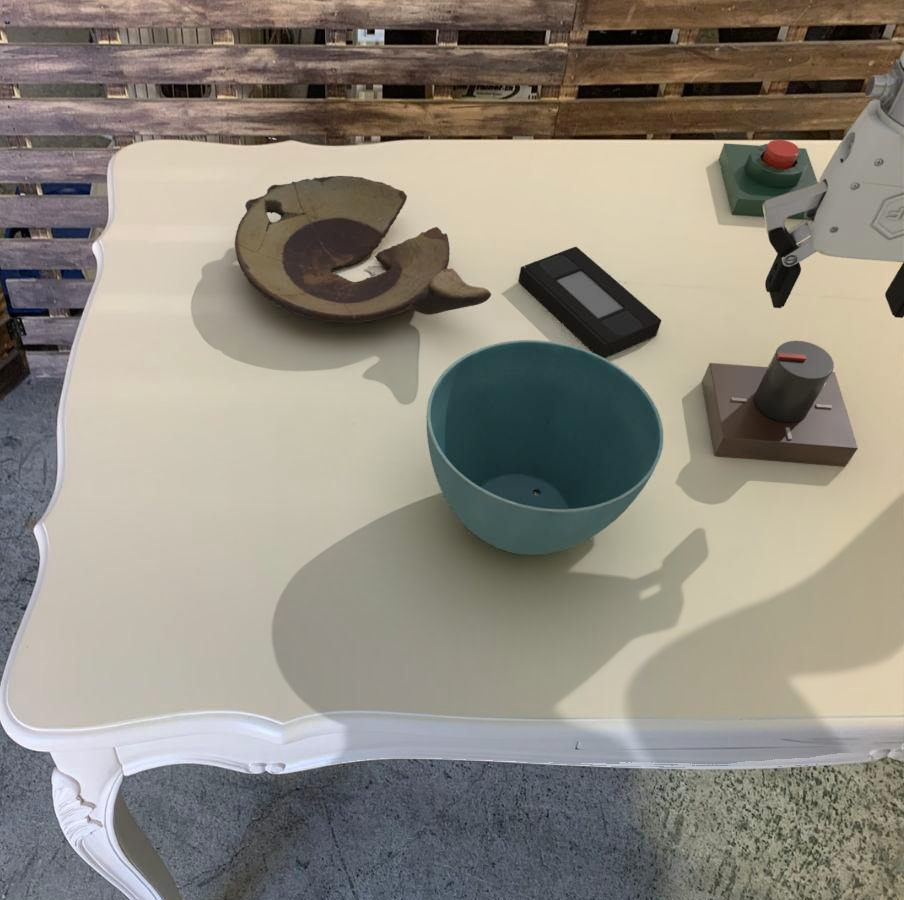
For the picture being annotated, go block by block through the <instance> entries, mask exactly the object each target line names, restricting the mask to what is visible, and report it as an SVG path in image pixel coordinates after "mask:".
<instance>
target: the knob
mask: <svg viewBox="0 0 904 900" xmlns="http://www.w3.org/2000/svg"><path fill="white" fill-rule="evenodd" d="M767 367H768V368H767V370H766V372H765V374H764V376H763V378H762V380H761V383H760V385H759V387H758V389H757V391H756V393H755V395H754V401H755V404H756V406H757V408H758V409H759V410H760V411H761V412H762V413H763V414H764V415H766V416H768V417H769V418H771V419H774V420H777V421H781V422H797V421H800V420H802V419H803V418H805V417H806V416H807V414H808V413H809V411H810V409H811V408H812V406H813V404H814V402H815V401H816V399H817V397H818V395H819V394H820V392H821V390H822V389H823V387H824V385H825V383H826V382H827V380H828V378H829V376H830V375H831V373H832V372H834V368H835V364H834V360H833V358H832V356H831V355H830V353H829V352H828V351H826V350H825V349H824V348H822V347H820V346H819V345H818V344H817V345H816V344H814V343H812V342H808V341H805V340H789V341H786V342H784V343H782V344H781V345H779V346H778V347H777V349H776V350H775V352H774V355H773V356H772V359H771V361H770V362H769V365H768V366H767Z"/></svg>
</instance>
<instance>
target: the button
mask: <svg viewBox="0 0 904 900" xmlns="http://www.w3.org/2000/svg"><path fill="white" fill-rule="evenodd" d="M767 144H768V145H767V148H766V150H765V153H764V155H763V158H762V161H763V162H765V163H766V164H767V165H769V166H772V167H775V168H777V169H789V168H792V166H793V165H794V162H795V160H796V158H797V155H798V153H799V148H800V147H798V145H796V144H795V143H793V142H791V141H790V140H784V139H774V140H770V141H769V142H768V143H767Z"/></svg>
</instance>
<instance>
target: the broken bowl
mask: <svg viewBox="0 0 904 900" xmlns="http://www.w3.org/2000/svg"><path fill="white" fill-rule="evenodd" d="M407 199H408V195H407V193H405V191H404V190H402V189H398V188H395V187H393V186H392V185H390V184H386V182H385V183H384V182H382V181H377V180H372V179H368V178H364V177H362V176H361V177H360V176H353V175H332V176H323V177H313V178H311V179H309V178H306V179H301V180H297V181H292V182H290V183H283V184H272V185H270V186H269V187H268V188H267V190H266V193H265V194H264V195H262V196H259V197H256V198H253V199H249V200H247V201H246V202H245V205H244V206H245V209H246V212H245V213H244V215H243V216H242V217H241V219H240V221H239V224H238V226H237V229H236V232H235V238H234V249H235V255H236V259H237V263H238V265H239V267H240V270H241V271H242V273H243V275H244V277H245V278H246V279H247V281H248V282H249V284H250V285H252V287H254V289H256V290H257V291H258V292H259V293H260V294H262V295H263V296H264V297H265V298H266V299H268V300H269V301H271V302H272V303H274V304H275V305H277V306H279V307H280V308H282V309H284V310H285V311H288V312H291V313H294V314H295V315H298V316H301V317H304V318H308V319H313V320H319V321H323V322H332V323H333V322H334V323H360V322H362V323H363V322H370V321H376V320H380V319H384V318H386V317H391V316H394V315H398V314H400V313H403V312H405V311H407V310H412V311H414V312H417V313H420V314H421V315H426V316H431V315H436V314H437V315H438V314H440V313H441V314H442V313H444V312H448V311H453V310H458V309H464V308H469V307H474V306H479V305H481V304H483V303H485V302H487V301H488V300H489V299H490V298H491V296H492V293H491V292H490V291H489V289H487V288H485V287H480V286H473V285H469V284H468V283H466V282H465V281H464V280H463V279H462V278H461V276H460V275H459V274H458V272H457V271H456V270H454V268H452V267H451V268H448V267H449V263H450V255H451V254H450V242H449V236H448V234H447V232H445V233H443V232H442V230H441V229H440V228H439V227H437V226H435V227H432V228H429V229H427V230H426V231H424V232H422V231H421V232H420V234H418V235H416V236H415V237H411V238H408V239H405V240H404V241H402V242H401V243H396V245H392V246H391V247H388V248H384V249H383V250H381V251H378V253H376V255H375V256H374V257H375V259H376V261H377V262H378V263H379V264H380V266H382V267H383V268H385V270H386V271H384V272H382V273H380V274H377V275H376V276H374V275H375V273H373V272H372V271H370V270H368V269H367V268H366V269H365V268H364V269H363V270H364V271H367V272H369V273H370V274H371V275H372V276H370V277H366V278H364V279H362V280H359V281H352V280H349V279H347V278H345V277H343V276H342V275H339V274H337V273H334V272H333V271H332V270H334V269H335V270H336V269H340V268H342V267H348V266H351V265H354V264H355V263H360V262H361V261H362V260H363V261H364V260H365V258H367V257H370V256H371V255H372V254H373V252H374V251H375V250H376V249H377V248H378V247H379V246H380V244H381V243H382V241H383V239H384V238H385V237H386V235H387V234H388V233H389V231H390V229H391V226H392V225H393V224H394V223H395V222H396V220H397V218H398V216H399V214H400V213H401V211H402V209H403V207H404V205H405V204H406V202H407ZM268 213H269V214H273V213H275V214H277V215H279V216H280V219H279V220H276V221H274V222H272V221H271V220H270V218H269V216H268Z"/></svg>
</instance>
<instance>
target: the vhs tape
mask: <svg viewBox="0 0 904 900" xmlns="http://www.w3.org/2000/svg"><path fill="white" fill-rule="evenodd" d="M518 283H519V284H520V285H521V286H522V287H524V288H525V290H527V291H528V292H529V293H530V294H531V295H532V296H533V297H534V298H535V299H536V300H537V301H538V302H539V303H540V304H542V306H543V307H544V308H546V309H547V310H548V311H549V312H550V313H551V314H552V315H553V316H554V317H555V318H556V319H557V320H558V321H559V322H561V324H563V326H564V327H566V328H567V329H568V330H569V331H570V332H571V333H572V334H573V335H574V336H575V337H576V338H577V339H579V341H581V342H582V343H583V344H584V345H585V346H586V347H587V348H588V349H589V351H590V352H592V353H594V354H597V355H599V356H601V357H603V358H605V359H606V358H607V357H610V356H612V355H614V354H615V355H616V354H618V353H619V352H622V351H624V350H627V349H629V348H632V347H634V346H636V345H638V344H641V343H643V342H645V341H648V340H650V339H652V338H654V337H656V336H657V335H658V332H659V329H660V327H661V323H662V319H661V318H660V317H659V316H658V315H657V314H655V313H654V312H653V311H652V310H651V309H650V308H648V307H647V306H646V305H645V304H644V303H643V302H641V300H639V299H638V298H637V297H636V296H634V294H632V293H631V292H630V291H629V290H627V289H626V288H625V287H624V286H623V285H621V283H619V282H618V281H617V280H616V279H615V278H614V277H612V276H611V275H610V274H609V273H608V272H606V270H604V269H603V268H602V267H601V266H600V265H599V264H597V262H595V261H594V260H593V259H592V258H590V257H589V256H588V255H587V254H586V253H585V252H584V251H582V250H581V249H580V248H579V247H577V246H573V247H570V248H567V249H564V250H562V251H560V252H557V253H554V254H551V255H549V256H546V257H544V258H541V259H539V260H535V261H533V262H531V263H528V264H525V265H522V266H520V270H519V274H518Z"/></svg>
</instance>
